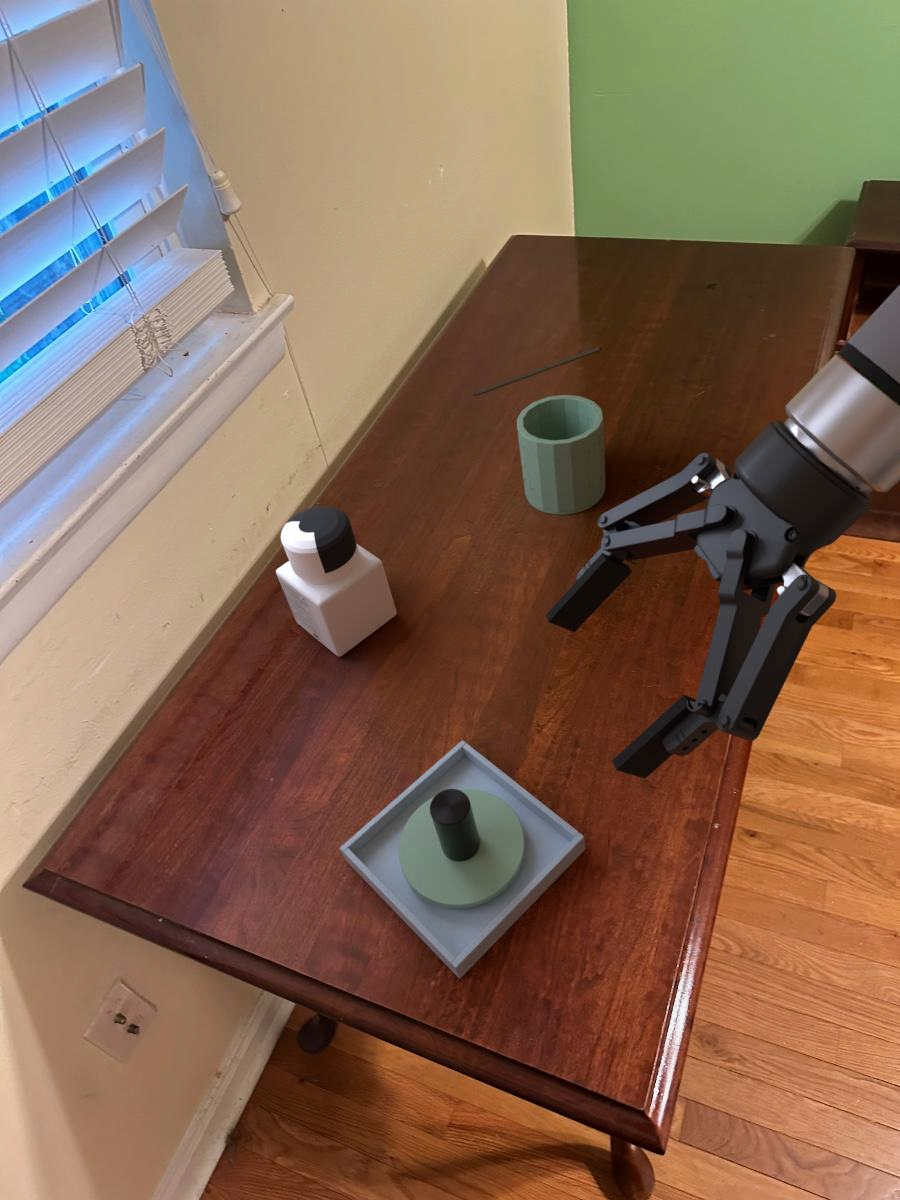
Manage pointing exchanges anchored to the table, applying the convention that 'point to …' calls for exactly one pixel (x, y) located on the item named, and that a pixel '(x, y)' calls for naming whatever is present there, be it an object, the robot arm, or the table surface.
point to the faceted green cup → (562, 454)
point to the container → (333, 580)
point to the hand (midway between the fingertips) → (591, 691)
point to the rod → (535, 371)
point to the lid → (461, 848)
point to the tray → (478, 927)
